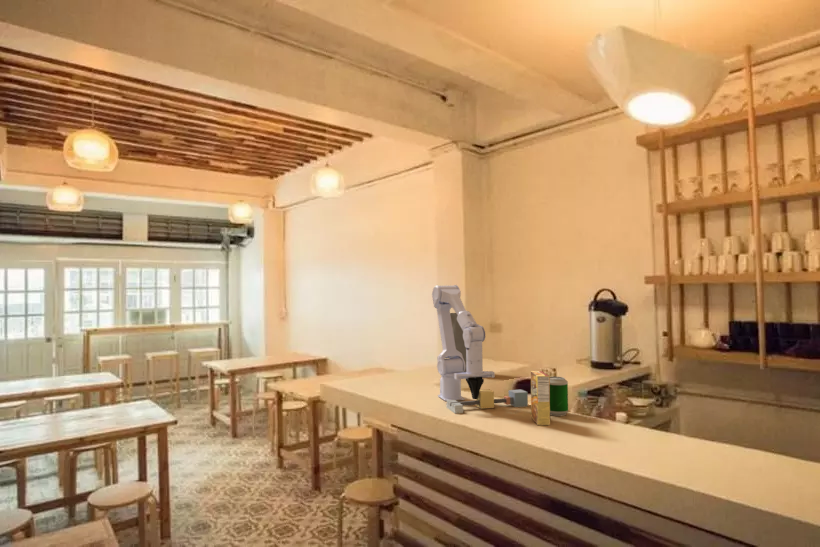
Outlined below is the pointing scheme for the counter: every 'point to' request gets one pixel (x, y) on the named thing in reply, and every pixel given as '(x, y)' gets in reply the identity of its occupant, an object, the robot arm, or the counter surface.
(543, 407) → the candy box
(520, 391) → the block
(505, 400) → the red-tipped gray rod
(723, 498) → the counter surface
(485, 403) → the sleeve
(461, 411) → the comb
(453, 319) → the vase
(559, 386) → the soda can
